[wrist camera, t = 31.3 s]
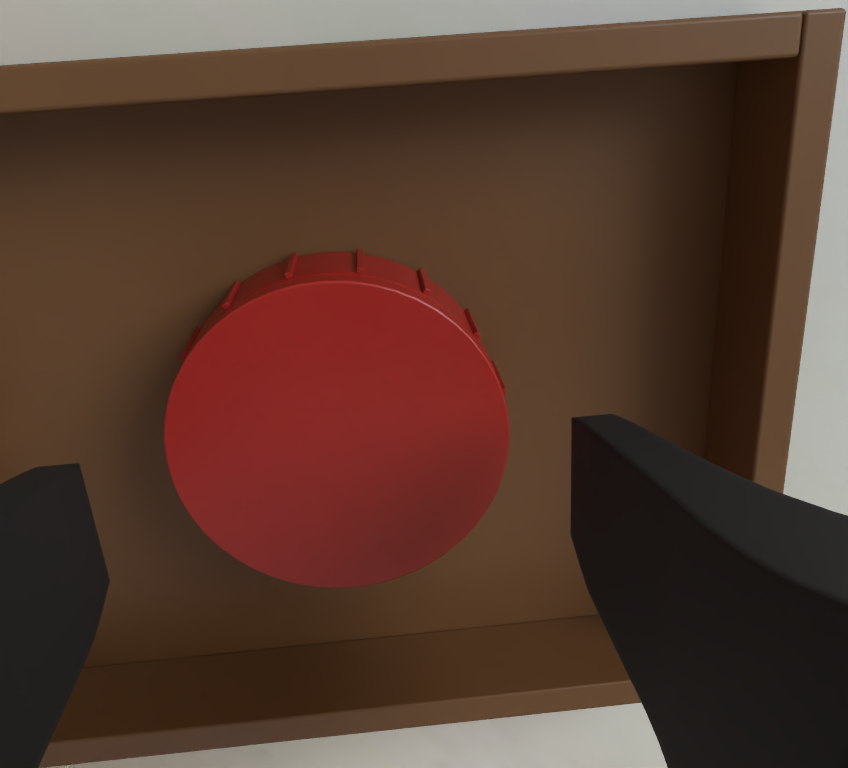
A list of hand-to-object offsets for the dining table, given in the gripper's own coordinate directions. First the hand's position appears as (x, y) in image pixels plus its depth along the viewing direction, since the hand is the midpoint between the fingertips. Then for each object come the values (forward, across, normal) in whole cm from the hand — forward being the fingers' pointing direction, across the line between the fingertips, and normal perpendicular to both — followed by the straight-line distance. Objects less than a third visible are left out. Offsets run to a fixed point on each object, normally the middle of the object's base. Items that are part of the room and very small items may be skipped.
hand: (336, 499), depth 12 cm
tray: (+4, 0, 0) cm, 4 cm away
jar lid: (+2, 0, 0) cm, 2 cm away
